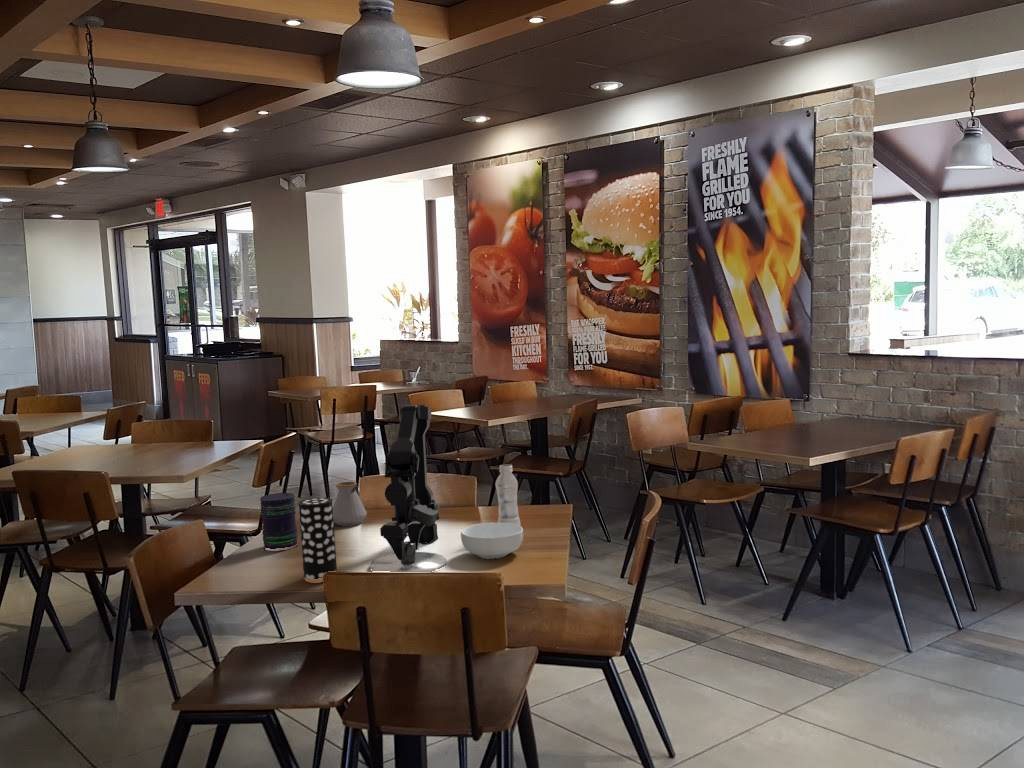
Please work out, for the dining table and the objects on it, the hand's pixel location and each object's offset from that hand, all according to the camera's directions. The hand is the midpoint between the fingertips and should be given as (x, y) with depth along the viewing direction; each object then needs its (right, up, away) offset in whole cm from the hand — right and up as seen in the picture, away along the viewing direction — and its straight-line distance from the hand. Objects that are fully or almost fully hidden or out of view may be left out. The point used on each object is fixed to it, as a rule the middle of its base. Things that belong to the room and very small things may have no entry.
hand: (408, 554), depth 240 cm
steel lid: (0, -3, 0) cm, 3 cm away
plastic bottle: (+26, +1, +29) cm, 40 cm away
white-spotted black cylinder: (-21, -5, -7) cm, 23 cm away
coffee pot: (-23, 0, +47) cm, 52 cm away
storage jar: (-40, -3, +26) cm, 48 cm away
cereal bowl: (+22, -2, +7) cm, 23 cm away
